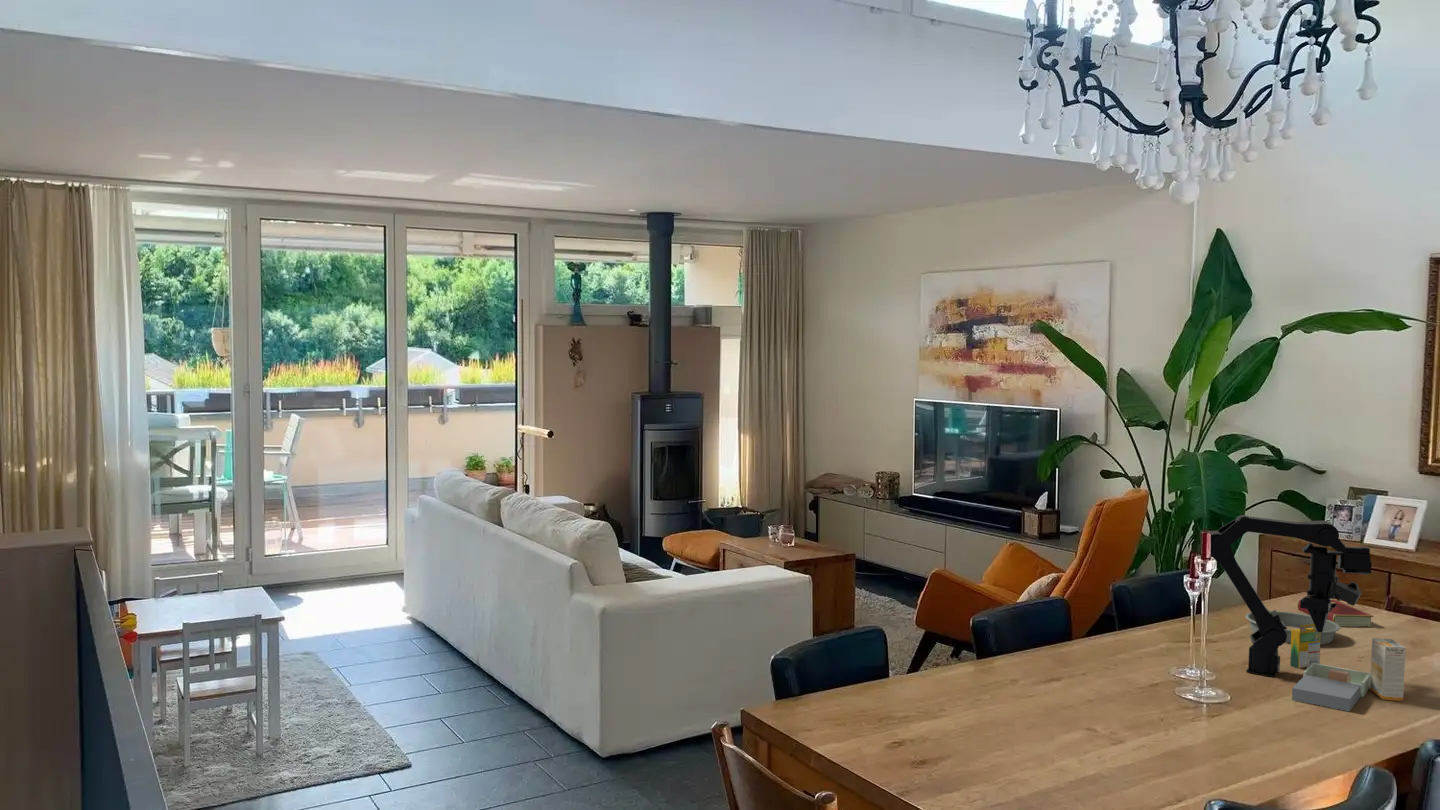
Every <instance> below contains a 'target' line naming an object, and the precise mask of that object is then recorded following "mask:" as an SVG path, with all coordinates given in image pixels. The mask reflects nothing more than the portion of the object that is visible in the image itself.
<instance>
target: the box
mask: <svg viewBox="0 0 1440 810" xmlns="http://www.w3.org/2000/svg"><path fill="white" fill-rule="evenodd" d="M1330 669H1334V670H1339V671H1345V672H1349V676H1351V683H1353V684H1358V685H1361V693H1360V698H1362V697H1363V698H1364V697H1365V696H1366V695H1365V694H1367V693H1368V692H1369V691H1370V678H1371V672H1367V671H1361V670H1357V669H1356V670H1354V669H1350V668H1343V667H1339V666H1334V665H1333V666H1332V665H1326V664H1322V663H1320V664H1317V663H1312V664H1311V665H1310V666H1309V667H1306V668H1305V670H1304V671H1303V673H1302V678H1303V677H1304V676H1305V675H1309V676H1315V677H1320V678H1325V679H1328V677H1329V670H1330ZM1368 690H1369V691H1368Z"/></svg>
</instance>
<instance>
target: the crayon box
mask: <svg viewBox="0 0 1440 810" xmlns="http://www.w3.org/2000/svg"><path fill="white" fill-rule="evenodd" d="M1309 626H1315V625H1314V624H1307V625H1300V628H1294V629H1292V630H1291V643H1290V662H1289V663H1290V665H1291V666H1290V667H1293V666H1294V667H1293V668H1297V669H1298V668H1300V669H1303V668H1304V669H1306V668H1308V667H1309V666H1310V665H1311V664H1312V663H1317V664H1321V663H1320V662H1321V657H1320V656H1321V644H1320V632H1318V631H1317V629H1316V627H1315V628H1306V627H1309ZM1305 667H1306V668H1305Z"/></svg>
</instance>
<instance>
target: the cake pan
mask: <svg viewBox="0 0 1440 810" xmlns="http://www.w3.org/2000/svg"><path fill="white" fill-rule="evenodd" d="M1269 611H1270V612H1273V611H1274V610H1269ZM1276 612H1277V614H1278V616H1279V618H1280V620H1281V621H1282V622H1284V624H1285V626H1286V628H1287V627H1288V628H1287V629H1284V630H1285V632H1286V634H1287V639H1286V641H1285V643H1287V644H1291V630H1293V629H1291V628H1295V629H1300V625H1307V624H1314V622H1313V620H1312V618H1311V615H1308V614H1306V613H1299V612H1293V611H1292V612H1290V611H1279V610H1276ZM1245 619H1246V620H1248V621H1249V626H1250V631H1251V633H1252V634H1253V633H1255V632H1256V631H1257V630H1259V629H1258V626H1257V624H1256V621H1255V619H1254V616H1253V614H1252V613H1251V612H1248V613H1246V615H1245ZM1289 627H1290V628H1289ZM1306 628H1315V626H1309V627H1306ZM1340 630H1341V626H1339V625H1338V624H1336V623H1334V622H1332V621H1330V620H1326V623H1325V626H1324V630H1323V632H1320V645H1327V644H1330V643H1333V640H1334V638H1335V635H1336V632H1339V631H1340ZM1326 643H1327V644H1326Z"/></svg>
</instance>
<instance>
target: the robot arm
mask: <svg viewBox="0 0 1440 810" xmlns="http://www.w3.org/2000/svg"><path fill="white" fill-rule="evenodd" d="M1209 533H1210V534H1211V555H1210V556H1211V557H1212V558H1213V559H1214V561H1215V562H1216V563H1218V565H1219V566H1220V567H1221V568H1222V569H1224V572H1226V574H1227V576H1228V577H1229V580H1230V581H1231V582H1232V584H1233V585H1234V587H1235V589H1236V591H1237V592H1238V594H1239V596H1240V597H1241V598H1242V599H1243V601H1244V604H1245V605H1246V606H1247V608H1248V610H1249V611H1250V613H1252V614H1253V616H1254V619H1255V621H1256V624H1257V626H1258V629H1259V630H1257V631H1256V632H1255V633H1253V632H1252V633H1251V634H1250V636H1249V637H1250V640H1251V643H1252V645H1250V646H1248V647H1249V648H1248V664H1247V665H1248V668H1247V669H1246V670H1245V672H1246V673H1251V674H1256V675H1260V676H1261V675H1262V676H1267V677H1272V678H1273V677H1275V676H1276V675H1277V674H1279V672H1280V671H1281V655H1279V647H1281V646H1282V645H1284V644H1285V643H1286V642H1285V641H1286V639H1287V634H1286V632H1285V630H1284V629H1288V628H1287V626H1285V624H1284V622H1282V621H1281V620H1280V618H1279V616H1278V614H1277V612H1276V611H1277V610H1276V609H1274V610H1272V611H1273V612H1270V611H1271V610H1270V609H1268V608H1267V607H1266V605H1265V604H1264V603H1263V601H1262V599H1261V598H1260V597H1259V595H1258V593H1257V592H1256V590H1255V589H1254V587H1253V585H1252V584H1251V582H1250V581H1249V579H1248V578H1247V576H1246V574H1245V572H1244V571H1243V569H1242V568H1241V566H1240V565H1239V563H1238V562H1237V560H1236V557H1235V555H1234V552H1233V550H1232V547H1231V545H1233V544H1235V543H1236V542H1237V540H1240V538H1241V537H1242V536H1244V535H1245V534H1247V533H1256V534H1264V535H1265V534H1266V535H1273V536H1279V537H1280V536H1281V537H1288V538H1296V539H1299V540H1302V541H1305V542H1308V543H1307V545H1306V546H1304V547H1302V549H1301V550H1302V551H1303V552H1304V553H1305V554H1310V560H1309V561H1310V565H1309V573H1308V574H1307V580H1309V583H1308V584H1309V586H1308V587H1309V588H1308V590H1306V591H1307V592H1306V595H1305V597H1303V598H1301V599H1302V600H1301V601H1300V608H1304V609H1308V611H1309V613H1310V615H1311V618H1312V620H1313V622H1314V625H1315V627H1316V629H1317V631H1318V632H1323V630H1324V626H1325V623H1326V620H1327V617H1328V614H1329V611H1331V610H1332V609H1333V608H1334V607H1336V606H1337V604H1332V603H1331V600H1330V599H1334V600H1337V601H1340V602H1342V601H1343V602H1345V603H1347V605H1349V606H1352V607H1353V606H1355V605H1357V603H1358V601H1359V600H1360V599H1359V598H1360V597H1361V595H1362V590H1360V589H1359V584H1358V583H1357V582H1354V581H1351V582H1350V583H1348V584H1346V583H1342V582H1340V581H1339V576H1338V575H1337V566H1338V569H1339V570H1341V569H1342V571H1343V573H1344V574H1353V575H1355V574H1356V575H1368V576H1369V575H1371V572H1372V567H1373V565H1372V564H1373V563H1372V560H1371V559H1372V558H1371V553H1370V551H1371V549H1370V548H1369V547H1368V546H1359V547H1358V546H1357V547H1356V546H1345V545H1346V544H1345V543H1344V542H1343V541H1341V540H1340V538H1339V537H1340V532H1339V530H1338V528H1337V527H1335V526H1334V524H1333V523H1331V522H1329V521H1327V520H1306V521H1290V520H1289V521H1288V520H1281V519H1273V518H1264V517H1258V516H1257V517H1256V516H1249V515H1246V514H1240V515H1238V516H1237V517H1235V518H1234V519H1233V520H1231V521H1230V522H1228V523H1226V524H1224V525H1223V526H1221V527H1220V528H1219V529H1217V530H1211V531H1209ZM1313 544H1315V545H1313ZM1316 545H1319V546H1316ZM1328 547H1330V548H1332V549H1333V550H1328ZM1337 556H1338V557H1337Z"/></svg>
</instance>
